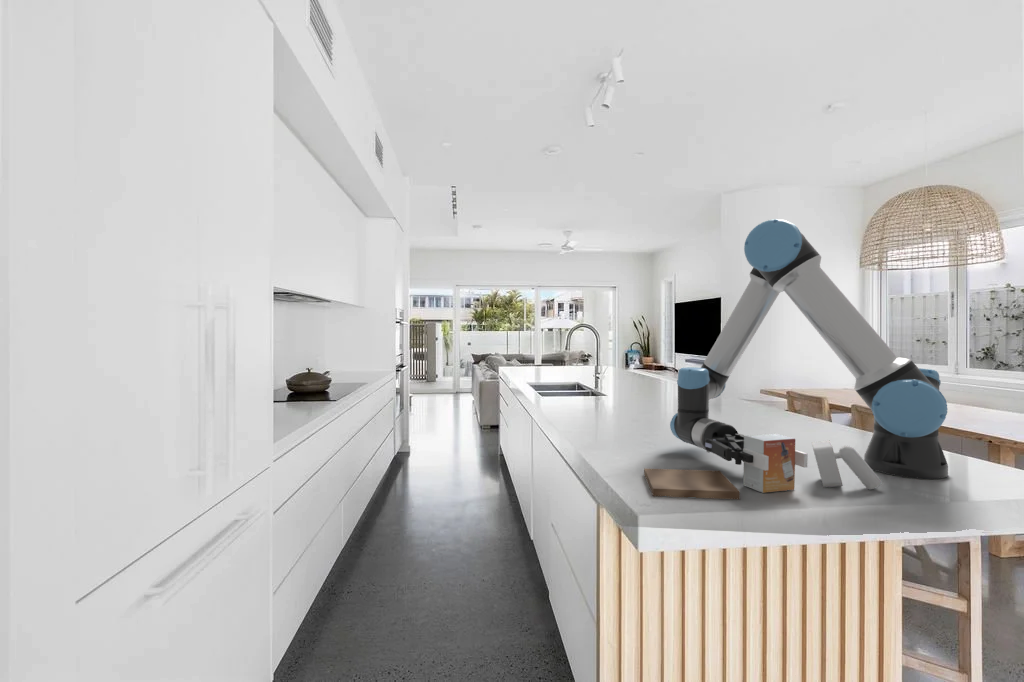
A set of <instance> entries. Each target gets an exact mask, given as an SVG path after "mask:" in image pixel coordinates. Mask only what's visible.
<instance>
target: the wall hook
mask: <svg viewBox="0 0 1024 682" xmlns="http://www.w3.org/2000/svg"><path fill="white" fill-rule="evenodd" d="M811 447H812V449H813V453H814V458H815V462H816V463H817V464H816V465H817V468H818V472H819V475H820V480H821V483H822V487H823V488H831V487H832V488H835V487H843V486H844V485H843V480H842V478H841V474H840V470H839V467H838V462H837V459H838V460H839V459H842V460H843V462H844V463H845V464H846V465H847V466H848V467H849V469H850V470H851V471H852V473H854V475H855V476H856V478H858V479H859V481H860V482H861V483H862V484H863V486H865V488H866V489H867V490H868V489H869V490H873V489H876V488H878V487H880V486H881V485H882V483H883V481H882V480H881V478H880V477H879V476H878V475H877V473H876V472H875V470H872V469H871V468H870V467H869V465H868V464H867V463H866V462H865V461H864V458H863V457H862V456H861V455H860V454H859V453H858V451H857V450H856V449H855V448H854V447H852V446H850V445H844V446H841V447H840V448H839V450H838V451H836V452H834V448H833V444H832V442H831V441H830V440H828V439H827V440H822V441H813V442H811Z"/></svg>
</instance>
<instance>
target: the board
mask: <svg viewBox="0 0 1024 682" xmlns="http://www.w3.org/2000/svg"><path fill="white" fill-rule="evenodd" d="M643 471H644V472H643V474H644V475H645V476H644V475H643V476H644V478H645V480H646V483H647V485H648V488H649V487H650V488H649V490H650V492H651V495H652V496H653V497H662V496H667V497H666V498H670V497H671V498H688V497H696V498H695V499H719V500H722V499H723V500H740V499H741V498H740V494H741V493H740V492H741V491H740V490H739V489H738V488H737V487H736V486H735V485H734V484H733V483H732V482H731V481H730V480H729V479H728V478H727V477H726V476H725V474H724V473H722V471H721V470H707V469H705V470H703V469H702V470H701V469H677V468H675V469H672V468H669V469H668V468H645V467H644V469H643ZM668 496H669V497H668Z"/></svg>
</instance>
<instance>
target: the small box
mask: <svg viewBox="0 0 1024 682" xmlns="http://www.w3.org/2000/svg"><path fill="white" fill-rule="evenodd" d="M744 449H749V450H752V451H755V452H758V453H760V454H763V455H766V456H769V460H768V470H766V471H765V470H762V469H760V468H757V467H755V466H752V465H750V464H747V463H745V462H743V483H742V484H743V486H744V487H747V488H750V489H752V490H755V491H757V492H759V493H763V494H765V493H773V492H785V491H787V490H791V491H794V490H795V489H796V488H795V486H796V485H795V479H796V474H795V472H796V469H795V468H796V465H795V450H796V438H794V437H792V436H791V437H790V436H787V435H784V434H779V433H776V432H774V433H765V434H754V435H753V434H752V435H751V434H750V435H746V434H745V435H744Z"/></svg>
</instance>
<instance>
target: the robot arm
mask: <svg viewBox="0 0 1024 682" xmlns="http://www.w3.org/2000/svg"><path fill="white" fill-rule="evenodd" d="M743 250H744V255H745V258H746V261H747V263H748V264H749V265H750V267H752V268H751V270H750V272H749V277H750V281H749V283H748V284H747V286H746V287H745V289H744V291H743V293H742V295H741V296H740V299H739V300H738V302H737V304H736V305H735V307H734V309H733V311H732V312H731V314H730V315H729V317H728V319H727V320H726V323H725V325H724V326H723V328H722V330H721V331H720V333H719V335H718V336H717V338H716V341H715V342H714V344H713V345H712V347H711V348H710V351H709V352H708V354H707V356H706V358H705V360H704V361H703V364H702V365H701V367H681V368H679V369H678V372H677V381H676V384H677V412H676V413H675V414H673V416H672V418H671V420H670V422H669V429H670V431H671V433H672V435H673V436H675V438H676V439H679V440H681V441H682V442H683V443H686V444H689V445H693V446H695V447H697V448H700V449H702V450H705V451H706V453H707V454H708V453H709V454H710V453H712V454H715V455H716V456H718V457H720V458H722V459H723V460H725V461H727V462H730V461H731V462H732V461H733V460H734V463H735V465H739V466H742V462H743V463H744V462H745V463H747V464H750V465H752V466H755V467H757V468H760V469H762V470H765V471H766V470H768V460H769V456H766V455H763V454H760V453H758V452H755V451H752V450H749V449H744V436H745V435H744V434H741V433H739V431H737V429H736V428H735V427H734V426H733V425H731V424H728V423H725V422H721V421H718V420H715V419H712V418H709V417H710V416H709V414H710V412H709V410H710V404H709V403H710V400H713V399H716V398H718V397H719V396H721V394H722V393H723V392H724V391H725V389H726V385H727V382H728V380H729V378H730V376H731V374H732V373H733V371H734V369H735V367H736V366H737V365H738V363H739V361H740V359H741V358H742V356H743V354H744V352H746V349H747V348H748V346H749V344H750V343H751V341H752V339H753V338H754V336H755V335H756V333H757V332H758V329H759V328H760V326H761V324H762V323H763V321H764V319H765V317H766V316H767V315H768V313H769V311H770V310H771V308H772V307H773V304H774V303H775V301H776V299H777V298H778V296H779V295H780V293H782V292H785V294H786V295H787V296H788V297H789V298H790V300H791V301H792V302H793V304H794V305H795V306H796V307H797V308H798V310H799V311H800V312H801V313H802V314H803V316H804V317H805V318H806V320H807V321H808V322H809V324H811V326H813V328H814V329H815V331H817V333H818V334H819V336H820V337H822V339H823V340H824V341H825V342H826V343H827V345H828V346H829V348H830V349H831V350H832V351H833V352H834V354H835V355H836V356H837V358H839V360H840V362H842V364H843V365H844V366H845V367H846V368H847V369H848V371H849V372H850V373H851V375H852V376H853V378H855V384H854V390H855V391H856V393H857V394H858V396H859V397H860V398H861V399H862V400H863V402H864V403H865V404H866V406H867V407H868V408H869V409H870V410H871V412H872V416H873V434H872V435H871V437H870V438H871V439H870V440H869V441H870V442H869V444H868V445H867V448H866V450H865V453H864V455H863V457H864V458H863V460H864V461H865V462H866V463H867V464H868V465H869V467H870V468H871V469H872V470H873V471H874V472H879V473H883V474H887V475H893V476H897V477H902V478H903V477H904V478H912V479H921V480H922V479H923V480H938V479H944V478H947V477H948V476H949V464H948V462H947V459H946V456H945V454H944V451H943V448H942V446H941V443H940V441H939V429H940V427H941V426H942V425H943V424H944V422H945V420H946V418H947V415H948V403H947V400H946V398H945V396H944V395H943V393H942V391H941V390H940V386H941V380H940V373H939V372H938V371H937V370H935V369H930V368H927V369H926V368H919V367H918V366H917V365H916V364H915V363H914V361H913V360H912V359H911V358H906V357H900V356H898V355H896V353H895V352H894V351H893V350H892V349H891V348H890V347H889V346H888V344H887V343H886V342H885V341H884V340H883V338H882V337H881V336H880V334H878V332H877V330H875V329H874V328H873V327H872V326H871V324H870V323H869V322H868V320H866V319H865V318H864V316H863V315H862V314H861V313H860V312H859V310H858V309H857V308H856V307H855V306H854V305H853V303H851V301H850V300H849V299H848V297H846V296H845V294H844V293H843V292H842V291H841V290H840V289H839V287H838V285H836V284H835V283H834V281H833V280H832V279H831V278H830V277H829V276H828V275H827V273H826V272H825V271H824V270H823V269H822V268H821V260H822V255H820V253H819V252H818V251H817V250H816V249H815V247H814V246H813V245H812V244H811V243H810V242H809V241H808V239H807V238H806V237H805V235H804V234H803V233H802V232H801V230H800V229H799V228H798V227H797V226H796V224H794V223H793V222H791V221H788V220H785V219H777V218H775V219H767V220H766V221H763V222H761V223H758V224H757V225H756V226H755V227H754V228H752V230H750V232H749V234H747V237H746V238H745V241H744V247H743ZM808 459H809V458H808V453H806V452H804V451H801V450H797V449H795V466H799V467H801V468H808Z"/></svg>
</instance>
